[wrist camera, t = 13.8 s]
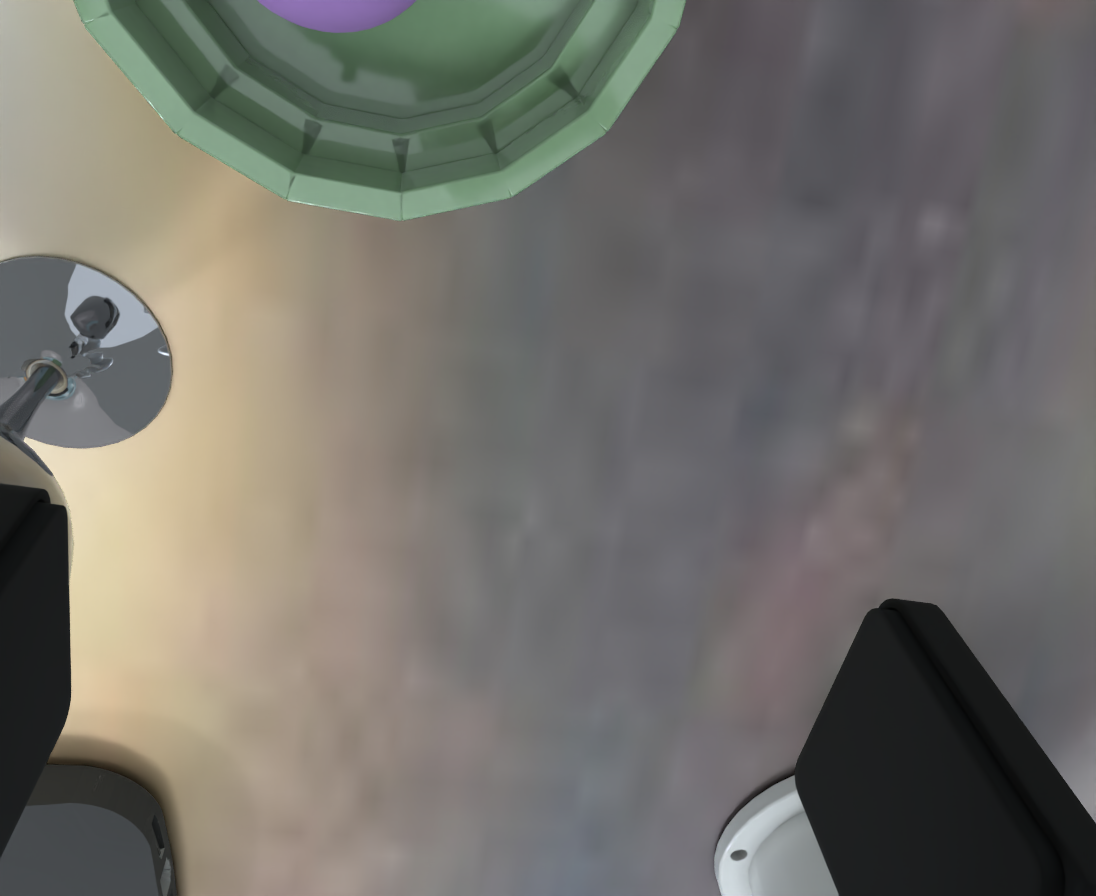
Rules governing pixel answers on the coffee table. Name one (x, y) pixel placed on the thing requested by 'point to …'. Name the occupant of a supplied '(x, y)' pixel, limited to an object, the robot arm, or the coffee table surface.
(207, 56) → the bowl
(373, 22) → the ball
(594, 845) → the coffee table surface
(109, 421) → the wine glass
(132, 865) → the media streaming box
